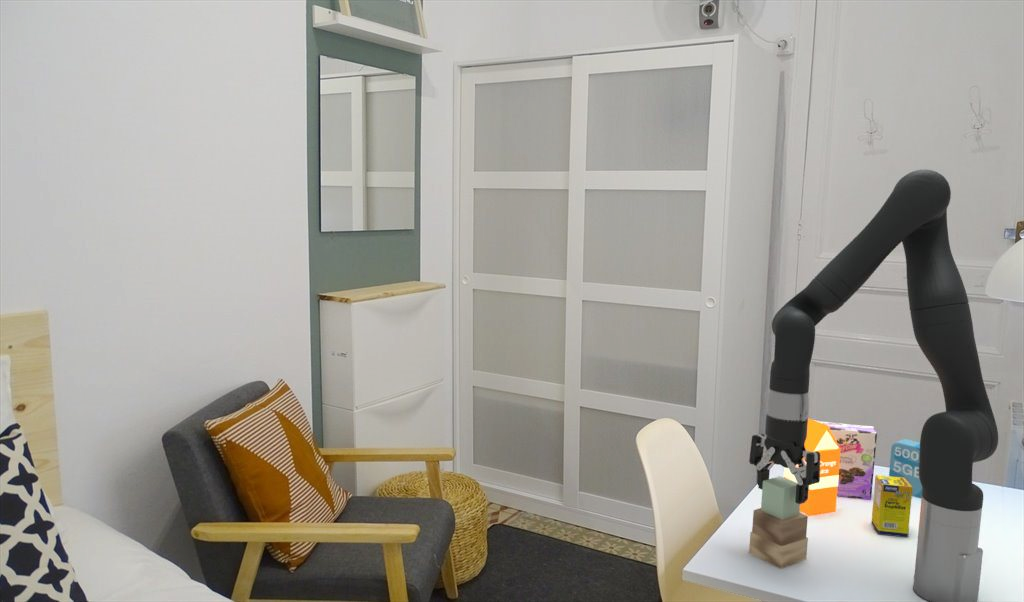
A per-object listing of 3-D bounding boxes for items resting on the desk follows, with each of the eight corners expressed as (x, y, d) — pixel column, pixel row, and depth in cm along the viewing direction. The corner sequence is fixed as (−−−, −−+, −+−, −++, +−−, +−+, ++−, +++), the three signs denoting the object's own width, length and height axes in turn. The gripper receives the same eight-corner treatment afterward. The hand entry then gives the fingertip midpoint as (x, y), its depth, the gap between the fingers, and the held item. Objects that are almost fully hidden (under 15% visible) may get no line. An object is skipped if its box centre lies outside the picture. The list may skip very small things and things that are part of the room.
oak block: (806, 560, 152) (807, 537, 151) (781, 569, 147) (782, 546, 147) (773, 545, 158) (775, 524, 157) (749, 554, 154) (750, 532, 153)
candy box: (808, 493, 186) (813, 425, 184) (806, 484, 192) (811, 419, 190) (871, 500, 182) (877, 432, 180) (868, 492, 188) (874, 425, 186)
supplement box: (908, 537, 163) (913, 486, 161) (877, 534, 164) (882, 484, 162) (900, 526, 168) (905, 477, 167) (870, 523, 170) (875, 474, 168)
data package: (887, 488, 191) (891, 440, 189) (895, 484, 194) (900, 437, 192) (939, 504, 182) (944, 453, 180) (947, 499, 184) (952, 450, 183)
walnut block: (805, 538, 151) (807, 516, 150) (781, 546, 147) (782, 523, 146) (776, 525, 157) (778, 503, 156) (752, 532, 153) (753, 510, 152)
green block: (799, 514, 151) (801, 484, 150) (782, 519, 148) (784, 489, 147) (777, 505, 155) (779, 476, 154) (760, 510, 152) (762, 480, 151)
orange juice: (808, 497, 183) (814, 414, 181) (836, 511, 175) (843, 424, 173) (781, 501, 181) (787, 416, 178) (808, 516, 172) (815, 427, 170)
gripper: (743, 407, 153) (739, 487, 155) (807, 425, 141) (800, 512, 143) (769, 402, 157) (764, 480, 159) (832, 419, 145) (826, 504, 147)
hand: (781, 495), depth 151 cm, fingers open, 8 cm apart
